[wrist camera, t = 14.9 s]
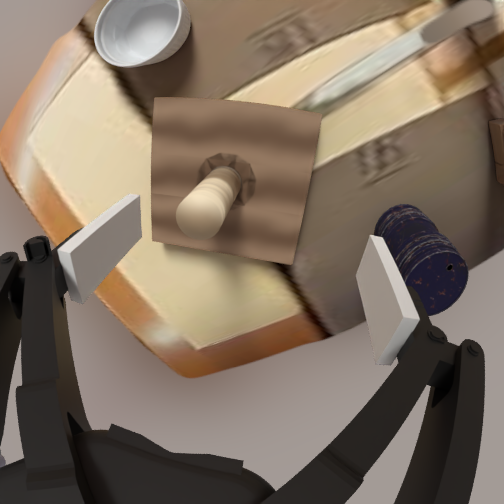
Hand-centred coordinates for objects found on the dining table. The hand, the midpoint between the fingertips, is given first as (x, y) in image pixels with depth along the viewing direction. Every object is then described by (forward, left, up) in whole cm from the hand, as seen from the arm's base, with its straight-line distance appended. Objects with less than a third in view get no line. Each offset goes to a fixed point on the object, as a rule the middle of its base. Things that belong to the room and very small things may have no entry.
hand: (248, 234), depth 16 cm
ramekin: (-17, -20, -28) cm, 38 cm away
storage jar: (+9, +22, -28) cm, 37 cm away
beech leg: (+5, -6, -27) cm, 28 cm away
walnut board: (+5, -6, -27) cm, 28 cm away
